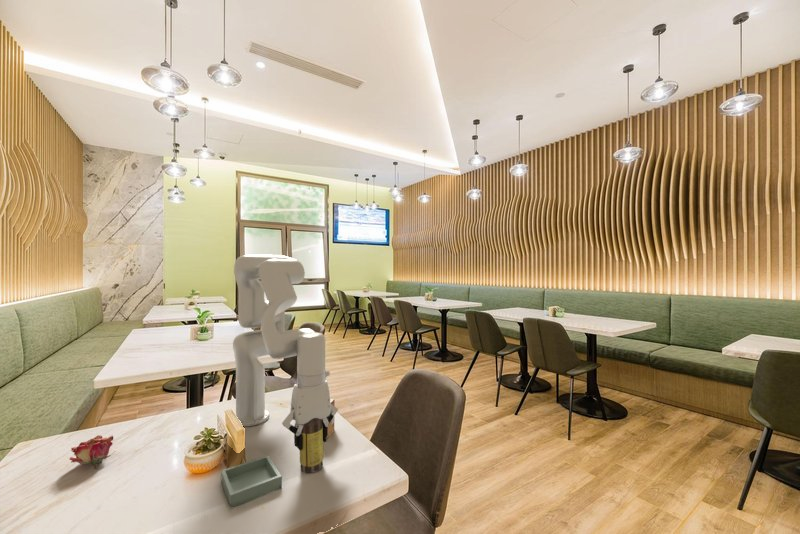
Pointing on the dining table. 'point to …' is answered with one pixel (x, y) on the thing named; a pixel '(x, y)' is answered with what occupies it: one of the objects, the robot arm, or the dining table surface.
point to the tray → (250, 480)
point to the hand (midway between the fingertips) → (311, 443)
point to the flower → (92, 451)
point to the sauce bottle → (312, 446)
